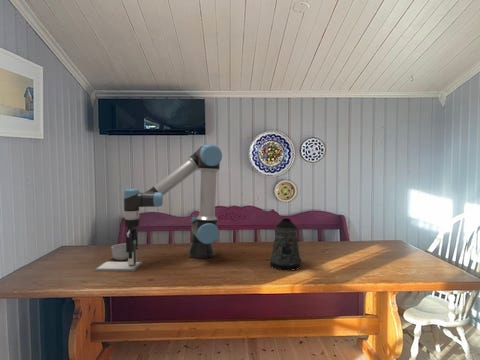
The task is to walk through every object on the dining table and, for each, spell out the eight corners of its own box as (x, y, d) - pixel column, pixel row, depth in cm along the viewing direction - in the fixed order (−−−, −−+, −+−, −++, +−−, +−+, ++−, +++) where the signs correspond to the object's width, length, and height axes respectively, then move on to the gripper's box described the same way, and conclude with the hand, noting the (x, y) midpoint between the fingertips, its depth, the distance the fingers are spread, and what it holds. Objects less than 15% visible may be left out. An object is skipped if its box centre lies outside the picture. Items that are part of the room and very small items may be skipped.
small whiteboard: (142, 263, 190) (142, 261, 190) (134, 271, 176) (133, 269, 176) (105, 263, 190) (105, 261, 190) (94, 270, 176) (94, 268, 176)
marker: (137, 264, 185) (136, 239, 184) (134, 266, 181) (134, 241, 181) (129, 264, 185) (129, 239, 185) (127, 266, 181) (127, 241, 181)
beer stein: (274, 271, 176) (274, 222, 175) (265, 261, 195) (265, 216, 194) (305, 270, 179) (306, 221, 178) (293, 260, 198) (294, 216, 197)
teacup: (125, 262, 192) (125, 247, 192) (107, 261, 195) (107, 246, 194) (137, 255, 206) (137, 242, 206) (120, 254, 208) (120, 241, 208)
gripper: (129, 216, 190) (130, 258, 191) (118, 221, 174) (119, 267, 175) (143, 216, 190) (143, 259, 191) (133, 221, 174) (134, 268, 175)
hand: (132, 263), depth 183 cm, fingers closed on marker, 4 cm apart
